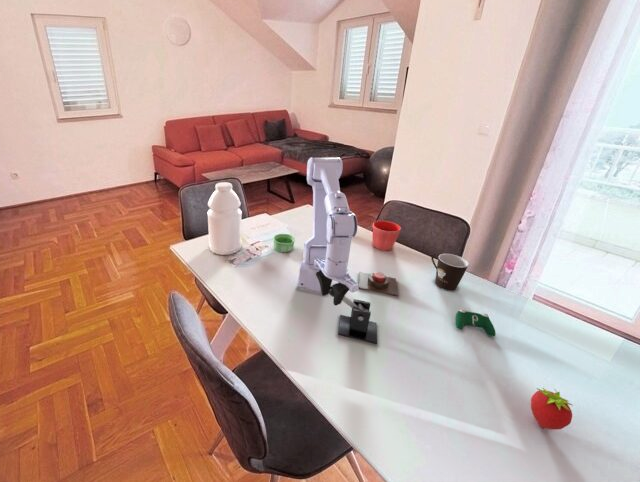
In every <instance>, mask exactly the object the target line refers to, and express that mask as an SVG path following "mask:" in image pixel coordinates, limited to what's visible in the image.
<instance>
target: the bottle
mask: <svg viewBox="0 0 640 482" xmlns="http://www.w3.org/2000/svg"><path fill="white" fill-rule="evenodd" d="M214 186H215V187H214V189H215V190H214V192H212V194H211V196H210V197H209V199H208V202H207V207H208V208H209V209H208V211H207V213H206V214H207V226H208V227H207V231H208V247H209V250H210V251H211V252H212V253H214V254H217V255H222V256H227V255H228V256H229V255H233V254H235V253H238V252H240V250H241V248H242V245H243V243H242V217H243V216H242V215H243V211H242V210H241V208H240V207H241V205H242V202H241V199H240V198H239V195H237V193H236V192H235V191H234V190H233V187H234V186H233V184H232V183H230V182H229V181H226V182H225V181H223V182H222V181H221V182H217V183H215V185H214ZM234 251H235V252H234ZM231 252H232V253H231Z"/></svg>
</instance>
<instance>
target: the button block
mask: <svg viewBox="0 0 640 482" xmlns="http://www.w3.org/2000/svg"><path fill="white" fill-rule="evenodd" d="M374 273H375V272H373V273H370V272H369V273H368V272H363V271H359V274H358V284H359V286H358V290H362V291H366V292H367V291H368V292H373V293H378V294H383V295H387V296H392V297H399V290H398V285H397V284H398V283H397V279H396V278H395V277H391V276H386V275H385V280H384V282H377V281H375V280H374V279H373V275H374Z"/></svg>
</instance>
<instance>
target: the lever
mask: <svg viewBox="0 0 640 482" xmlns="http://www.w3.org/2000/svg"><path fill="white" fill-rule="evenodd" d="M328 295H329V296H330V297H332V298H334V291H333V287H332V285H331V287H330V288H329V294H328ZM342 302H343V303H345V304H346V305H347V306H349V307H350V308H351V309H352V308H356V309H360V310H365V311H368V309H366V308H365V307H364V306H362V305H361V304H359V305H358V306H357V305H356V304H354V303H353V301H352V300H351V299H349V298H348V297H347V296H346V295H345V296H344V298H343V300H342Z"/></svg>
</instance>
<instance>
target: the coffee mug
mask: <svg viewBox="0 0 640 482" xmlns="http://www.w3.org/2000/svg"><path fill="white" fill-rule="evenodd" d="M436 256H437V264H436V262H435V259H434V257H436ZM431 262H432V265H433V266H434V268H435V269H436V272H435V278H434V284H435V285H436V286H437V287H438V288H440V289H442V290H445V291H450V292H453V291H457V288H458V286H459V285H460V282H461V281H462V279H463V277H464V275H465V273H466V272H467V269H468V267H469V265H470V263H469V261H468V260H467V259H466V258H464V257H462V256H459V255H456V254H452V253H441V254H438V253H432V254H431Z"/></svg>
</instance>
